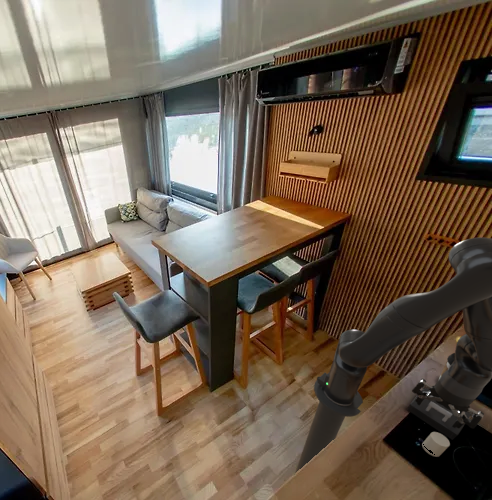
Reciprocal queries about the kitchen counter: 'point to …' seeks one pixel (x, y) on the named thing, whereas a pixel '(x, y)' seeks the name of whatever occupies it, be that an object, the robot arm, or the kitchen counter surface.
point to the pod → (436, 444)
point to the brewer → (431, 423)
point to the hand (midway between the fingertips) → (436, 414)
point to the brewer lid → (438, 413)
